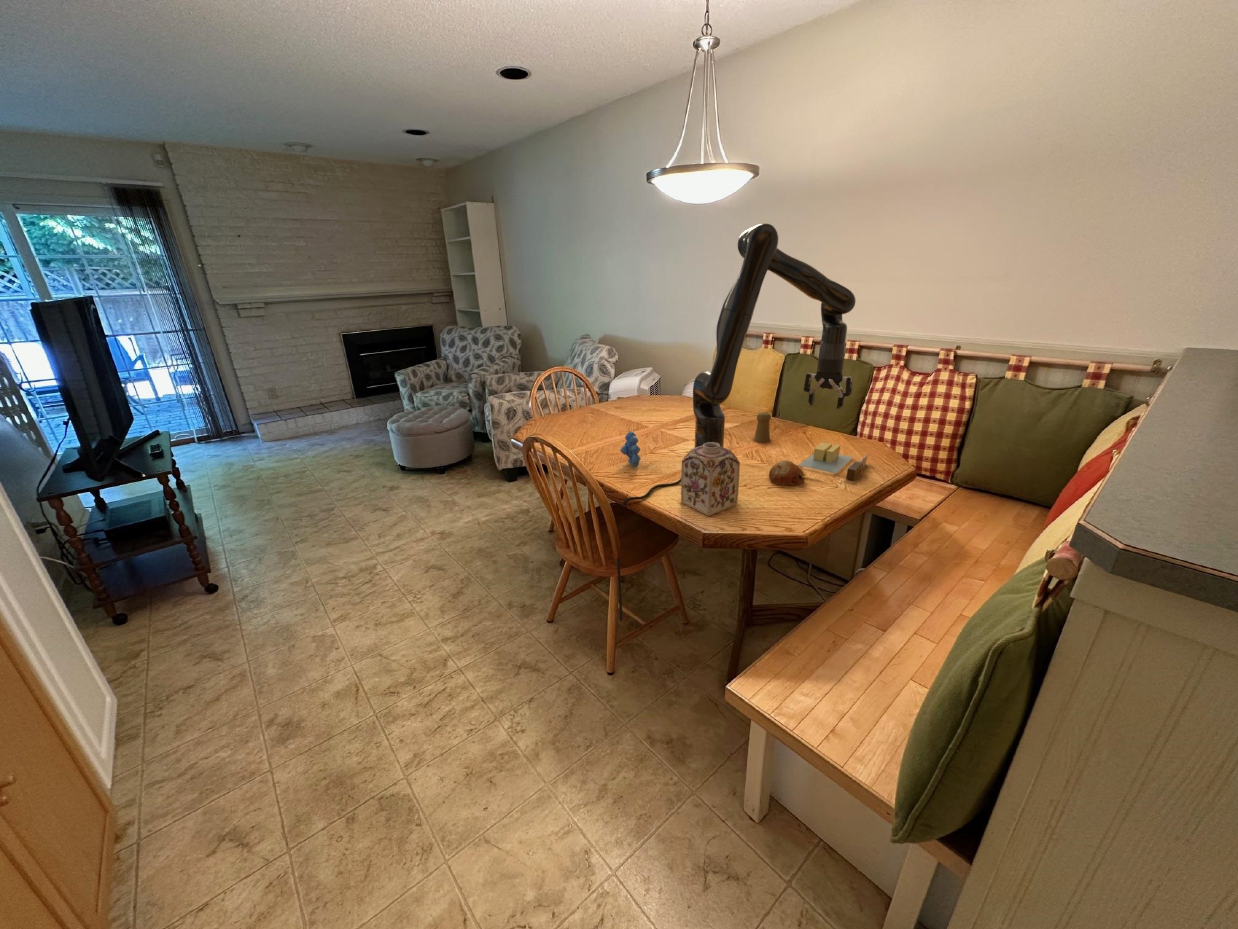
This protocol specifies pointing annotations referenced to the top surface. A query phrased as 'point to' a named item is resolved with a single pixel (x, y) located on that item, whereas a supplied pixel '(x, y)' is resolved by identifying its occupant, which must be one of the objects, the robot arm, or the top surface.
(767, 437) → the cork
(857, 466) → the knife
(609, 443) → the top surface
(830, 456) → the butter slice
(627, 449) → the grapes
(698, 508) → the decorative jar
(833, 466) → the butter dish
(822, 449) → the butter
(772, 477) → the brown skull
